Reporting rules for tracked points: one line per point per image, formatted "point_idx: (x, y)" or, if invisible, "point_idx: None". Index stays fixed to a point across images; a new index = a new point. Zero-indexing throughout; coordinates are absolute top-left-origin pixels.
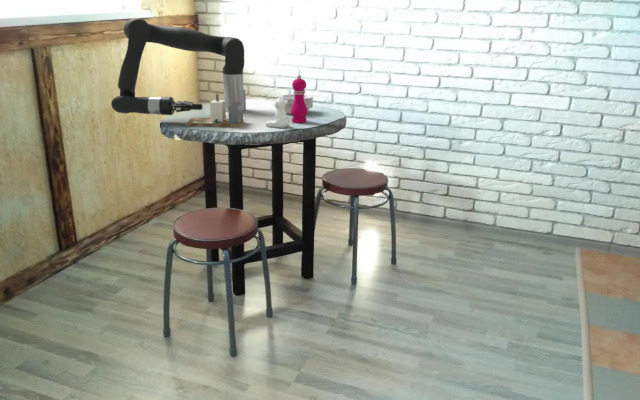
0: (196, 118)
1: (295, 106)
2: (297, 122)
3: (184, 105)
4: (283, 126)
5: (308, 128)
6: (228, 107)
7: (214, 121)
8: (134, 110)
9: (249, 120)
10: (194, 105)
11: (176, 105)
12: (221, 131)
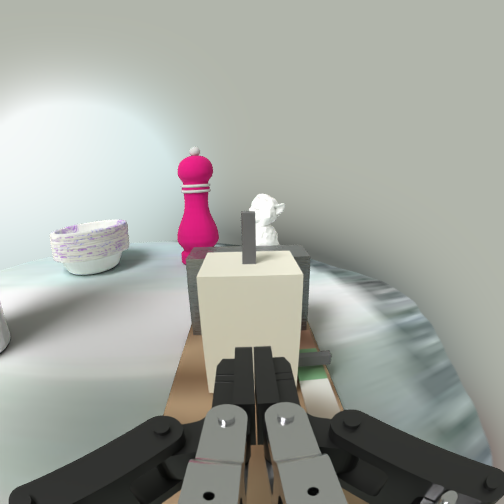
0: (172, 496)
1: (210, 222)
2: None
3: (413, 437)
4: None
5: None
6: (309, 258)
7: (330, 359)
8: None
9: (170, 316)
10: (284, 394)
11: (497, 486)
12: (395, 340)
